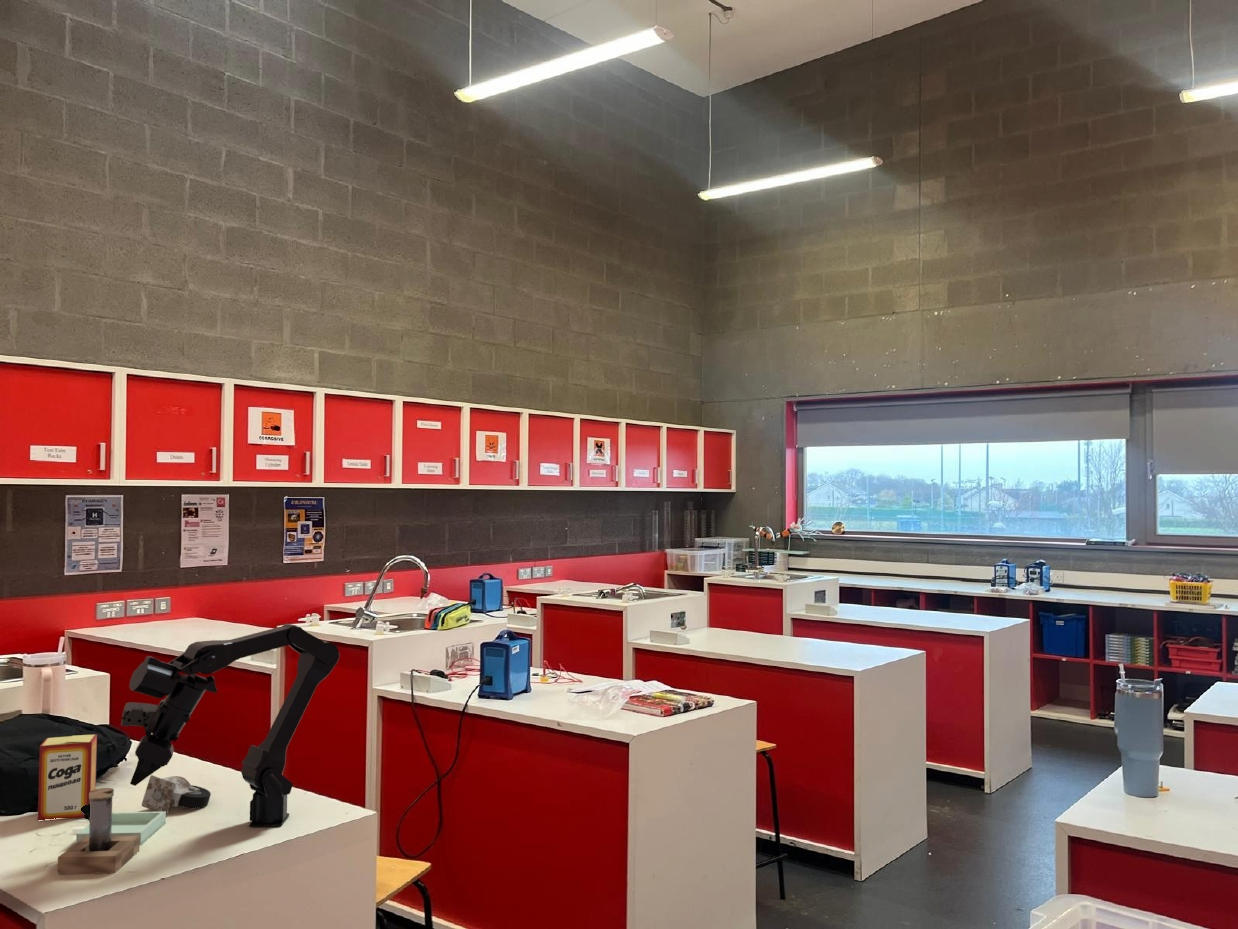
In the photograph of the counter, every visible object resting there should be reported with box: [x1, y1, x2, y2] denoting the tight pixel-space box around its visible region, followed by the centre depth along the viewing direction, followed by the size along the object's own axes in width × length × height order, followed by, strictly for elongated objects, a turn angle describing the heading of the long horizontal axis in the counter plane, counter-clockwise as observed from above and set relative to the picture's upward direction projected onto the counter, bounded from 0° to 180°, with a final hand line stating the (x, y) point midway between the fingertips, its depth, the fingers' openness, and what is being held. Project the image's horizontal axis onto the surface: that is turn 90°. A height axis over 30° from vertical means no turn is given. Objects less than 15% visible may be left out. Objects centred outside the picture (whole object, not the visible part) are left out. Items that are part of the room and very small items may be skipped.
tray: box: [75, 811, 167, 846], centre depth 185 cm, size 12×12×2 cm
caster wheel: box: [141, 774, 212, 815], centre depth 202 cm, size 7×11×10 cm
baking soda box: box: [37, 734, 98, 821], centre depth 197 cm, size 10×6×16 cm
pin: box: [89, 787, 115, 851], centre depth 172 cm, size 4×4×13 cm
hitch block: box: [56, 836, 140, 875], centre depth 172 cm, size 10×10×3 cm
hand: (136, 774), depth 180 cm, fingers open, 9 cm apart
